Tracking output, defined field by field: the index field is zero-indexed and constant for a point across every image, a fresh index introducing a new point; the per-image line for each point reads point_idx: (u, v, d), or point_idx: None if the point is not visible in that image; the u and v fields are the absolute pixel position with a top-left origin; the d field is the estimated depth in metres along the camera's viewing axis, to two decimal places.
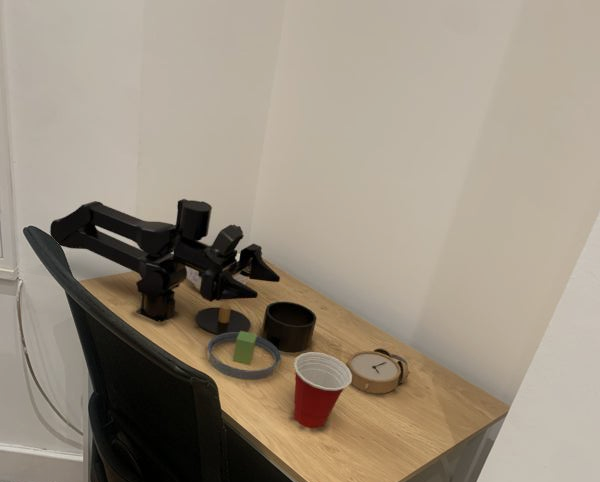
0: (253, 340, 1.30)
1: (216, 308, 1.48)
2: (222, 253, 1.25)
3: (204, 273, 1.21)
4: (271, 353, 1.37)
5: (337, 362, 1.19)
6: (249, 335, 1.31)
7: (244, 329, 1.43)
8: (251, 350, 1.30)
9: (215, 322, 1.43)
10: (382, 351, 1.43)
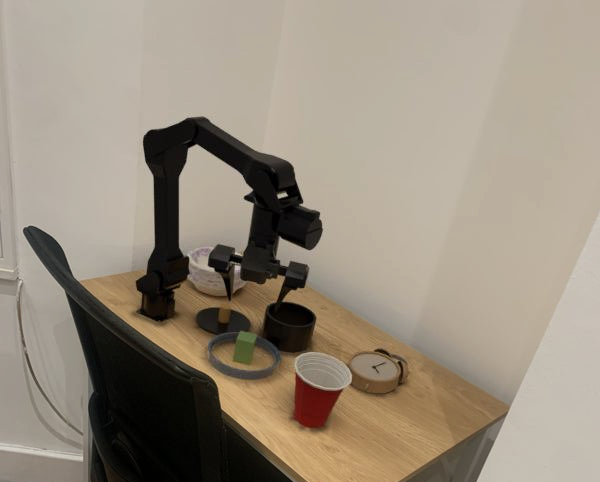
0: (253, 340, 1.30)
1: (216, 308, 1.48)
2: None
3: (210, 255, 1.20)
4: (271, 353, 1.37)
5: (337, 362, 1.19)
6: (249, 335, 1.31)
7: (244, 329, 1.43)
8: (251, 350, 1.30)
9: (215, 322, 1.43)
10: (382, 351, 1.43)
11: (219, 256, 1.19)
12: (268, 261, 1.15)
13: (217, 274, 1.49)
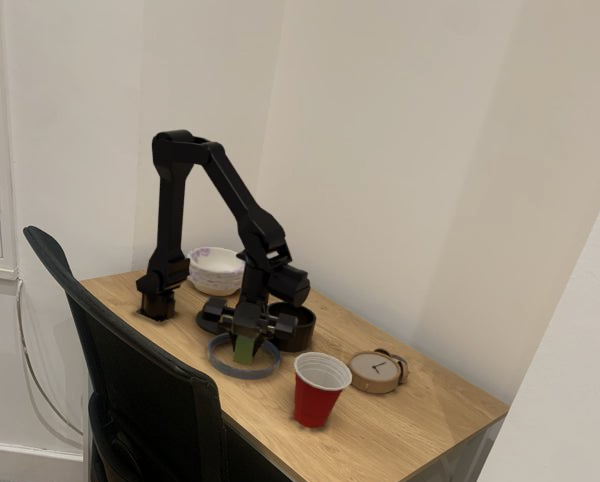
0: (253, 340, 1.30)
1: None
2: None
3: (203, 308, 1.26)
4: (271, 353, 1.37)
5: (337, 362, 1.19)
6: None
7: None
8: (251, 350, 1.30)
9: None
10: (382, 351, 1.43)
11: (212, 309, 1.25)
12: (258, 316, 1.22)
13: (217, 274, 1.49)
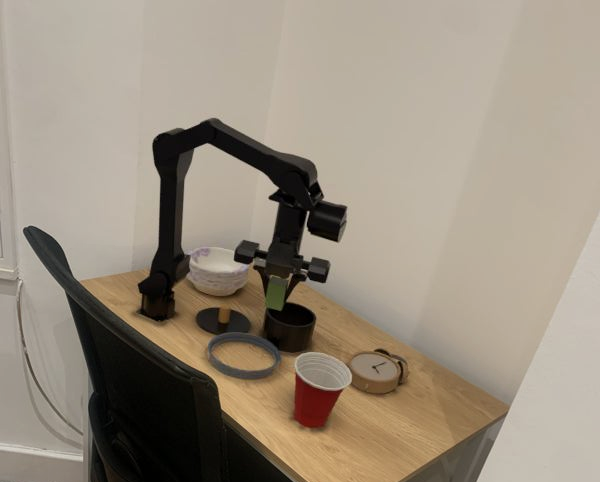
0: (285, 284, 1.29)
1: (216, 308, 1.48)
2: None
3: (236, 250, 1.25)
4: (271, 353, 1.37)
5: (337, 362, 1.19)
6: (280, 280, 1.30)
7: (244, 329, 1.43)
8: (283, 294, 1.29)
9: (215, 322, 1.43)
10: (382, 351, 1.43)
11: (245, 251, 1.25)
12: (292, 256, 1.21)
13: (217, 274, 1.49)
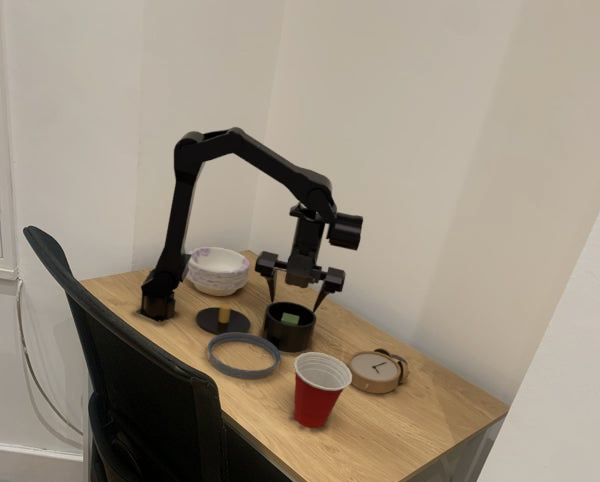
0: (296, 321, 1.40)
1: (216, 308, 1.48)
2: None
3: (257, 261, 1.32)
4: (271, 353, 1.37)
5: (337, 362, 1.19)
6: (292, 317, 1.41)
7: (244, 329, 1.43)
8: None
9: (215, 322, 1.43)
10: (382, 351, 1.43)
11: (265, 262, 1.32)
12: (311, 267, 1.28)
13: (217, 274, 1.49)
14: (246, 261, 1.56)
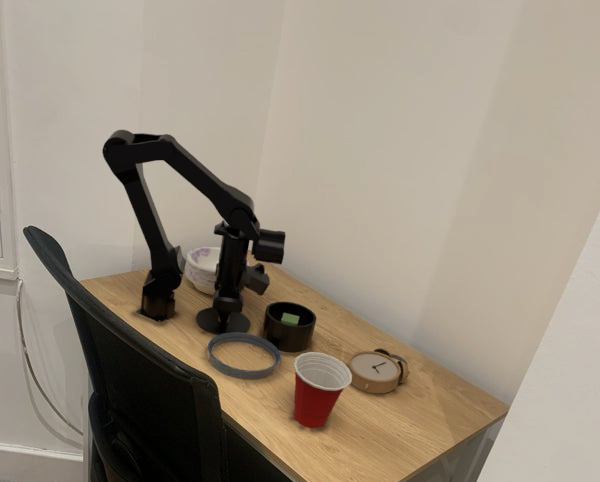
0: (296, 321, 1.40)
1: None
2: (248, 287, 1.37)
3: (239, 303, 1.32)
4: (271, 353, 1.37)
5: (337, 362, 1.19)
6: (292, 317, 1.41)
7: (244, 329, 1.43)
8: None
9: (215, 322, 1.43)
10: (382, 351, 1.43)
11: (241, 298, 1.33)
12: (257, 270, 1.40)
13: None
14: None
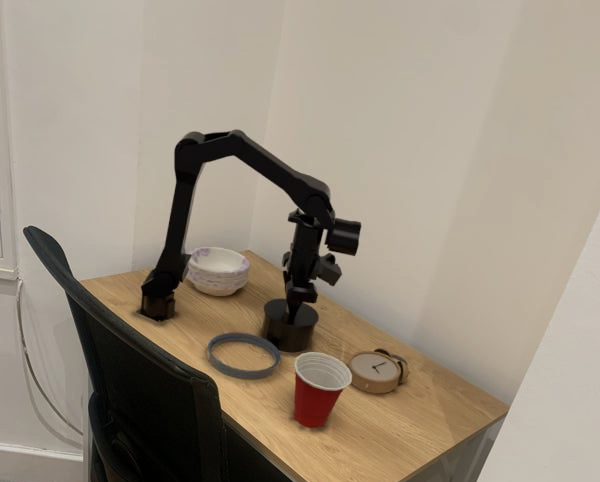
0: None
1: (282, 299, 1.44)
2: (320, 277, 1.33)
3: (314, 293, 1.28)
4: (271, 353, 1.37)
5: (337, 362, 1.19)
6: None
7: (313, 321, 1.39)
8: None
9: (284, 313, 1.39)
10: (382, 351, 1.43)
11: (315, 288, 1.29)
12: (328, 260, 1.36)
13: (217, 274, 1.49)
14: (246, 261, 1.56)
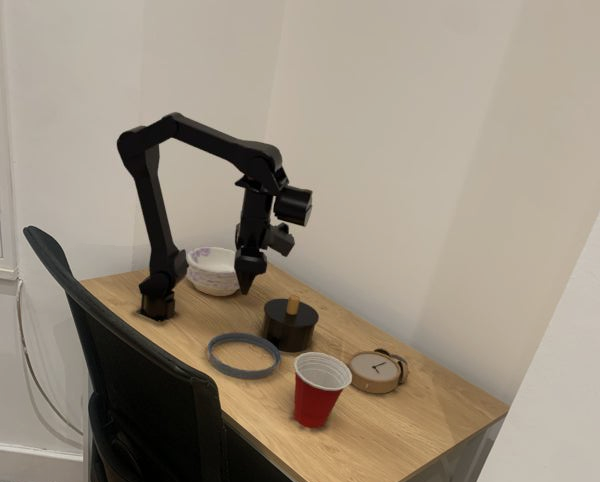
0: None
1: (282, 299, 1.44)
2: (272, 247, 1.27)
3: (263, 262, 1.22)
4: (271, 353, 1.37)
5: (337, 362, 1.19)
6: None
7: (313, 321, 1.39)
8: None
9: (284, 313, 1.39)
10: (382, 351, 1.43)
11: (265, 258, 1.23)
12: (280, 229, 1.30)
13: (217, 274, 1.49)
14: None
